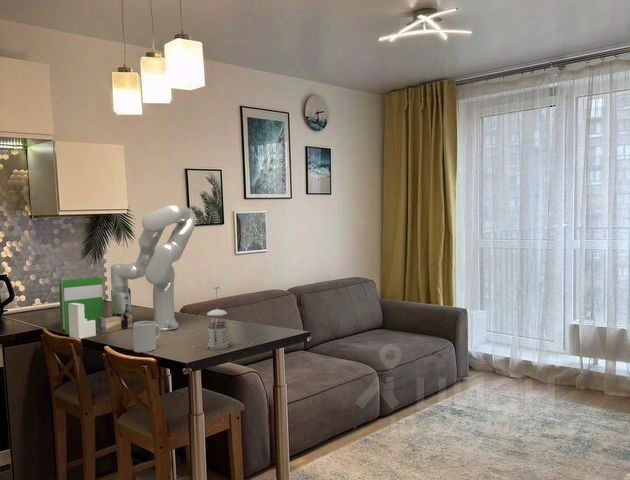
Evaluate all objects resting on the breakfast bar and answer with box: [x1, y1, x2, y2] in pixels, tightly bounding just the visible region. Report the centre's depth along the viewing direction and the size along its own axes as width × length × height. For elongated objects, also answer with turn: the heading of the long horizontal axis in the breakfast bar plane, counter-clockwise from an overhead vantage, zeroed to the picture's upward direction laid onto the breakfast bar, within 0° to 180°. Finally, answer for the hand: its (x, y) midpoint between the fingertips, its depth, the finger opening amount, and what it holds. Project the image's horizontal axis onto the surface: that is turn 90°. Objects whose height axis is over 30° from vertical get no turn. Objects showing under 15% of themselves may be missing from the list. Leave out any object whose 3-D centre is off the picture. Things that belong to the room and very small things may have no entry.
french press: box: [206, 285, 229, 347], centre depth 218 cm, size 10×12×25 cm
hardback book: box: [58, 276, 104, 334], centre depth 261 cm, size 18×7×24 cm, turn 131°
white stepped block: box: [68, 303, 97, 340], centre depth 244 cm, size 8×8×15 cm
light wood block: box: [96, 314, 133, 334], centre depth 257 cm, size 4×16×7 cm, turn 143°
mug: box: [132, 320, 161, 353], centre depth 218 cm, size 12×8×11 cm
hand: (121, 327), depth 260 cm, fingers closed on light wood block, 4 cm apart
